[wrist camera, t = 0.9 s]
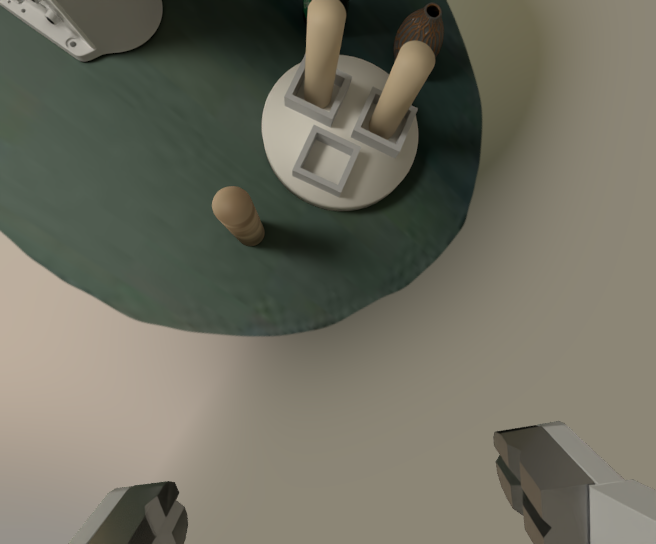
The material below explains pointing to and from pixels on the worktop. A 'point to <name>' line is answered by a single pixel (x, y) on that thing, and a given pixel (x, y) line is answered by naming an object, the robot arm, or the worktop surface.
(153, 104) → the worktop surface
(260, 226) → the stool leg
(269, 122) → the stool seat
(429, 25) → the vase
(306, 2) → the supplement bottle
